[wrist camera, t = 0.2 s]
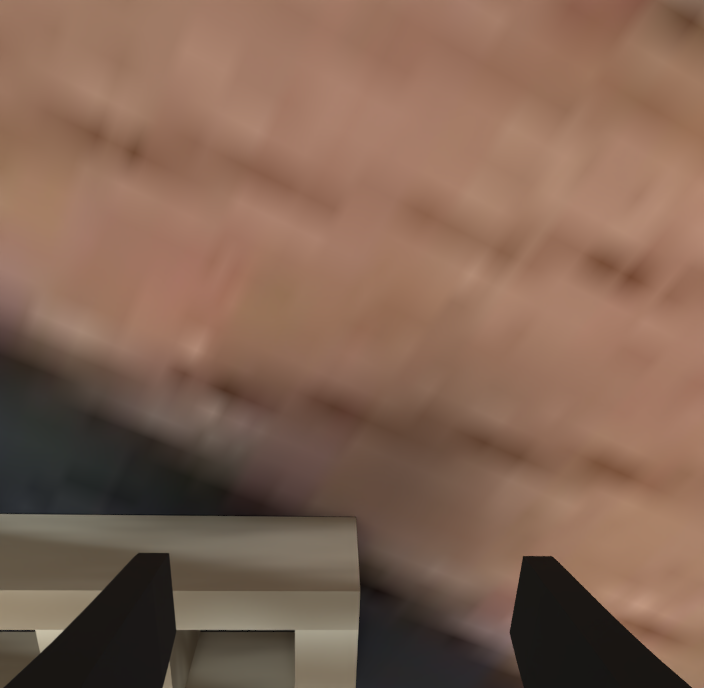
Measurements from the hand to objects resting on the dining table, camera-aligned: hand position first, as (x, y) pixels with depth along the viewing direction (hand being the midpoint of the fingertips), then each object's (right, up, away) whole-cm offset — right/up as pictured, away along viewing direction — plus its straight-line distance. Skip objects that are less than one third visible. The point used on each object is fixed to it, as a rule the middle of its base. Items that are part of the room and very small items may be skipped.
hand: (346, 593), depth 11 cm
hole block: (-9, -6, +12) cm, 16 cm away
